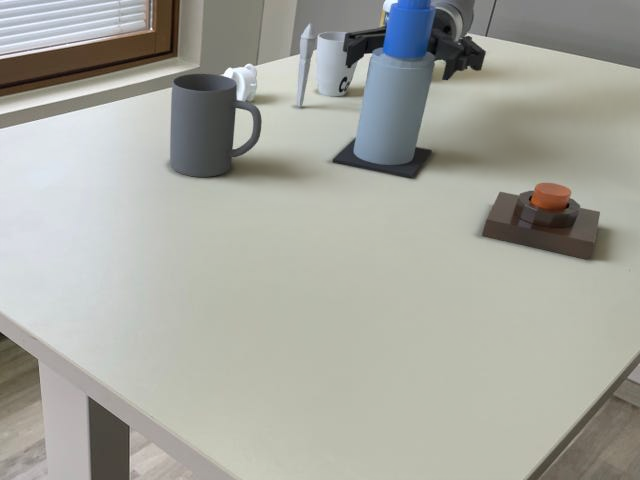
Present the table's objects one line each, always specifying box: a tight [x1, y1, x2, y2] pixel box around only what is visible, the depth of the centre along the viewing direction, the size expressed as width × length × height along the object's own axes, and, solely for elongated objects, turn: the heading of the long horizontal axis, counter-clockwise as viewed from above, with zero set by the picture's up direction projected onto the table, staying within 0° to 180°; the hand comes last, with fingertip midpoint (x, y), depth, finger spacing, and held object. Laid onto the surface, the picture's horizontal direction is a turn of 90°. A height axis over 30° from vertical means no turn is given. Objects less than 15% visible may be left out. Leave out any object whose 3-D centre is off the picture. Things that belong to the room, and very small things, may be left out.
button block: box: [481, 190, 601, 260], centre depth 89 cm, size 12×10×4 cm
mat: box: [332, 137, 433, 179], centre depth 110 cm, size 12×12×1 cm
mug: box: [169, 73, 263, 178], centre depth 102 cm, size 14×9×12 cm
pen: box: [296, 22, 318, 108], centre depth 126 cm, size 2×3×14 cm
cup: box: [315, 31, 359, 97], centre depth 135 cm, size 8×8×10 cm
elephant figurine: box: [223, 63, 258, 103], centre depth 131 cm, size 7×8×6 cm
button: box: [531, 182, 572, 210], centre depth 88 cm, size 4×4×2 cm
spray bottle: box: [354, 0, 436, 165], centre depth 103 cm, size 9×9×25 cm
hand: (396, 62), depth 100 cm, fingers open, 13 cm apart
